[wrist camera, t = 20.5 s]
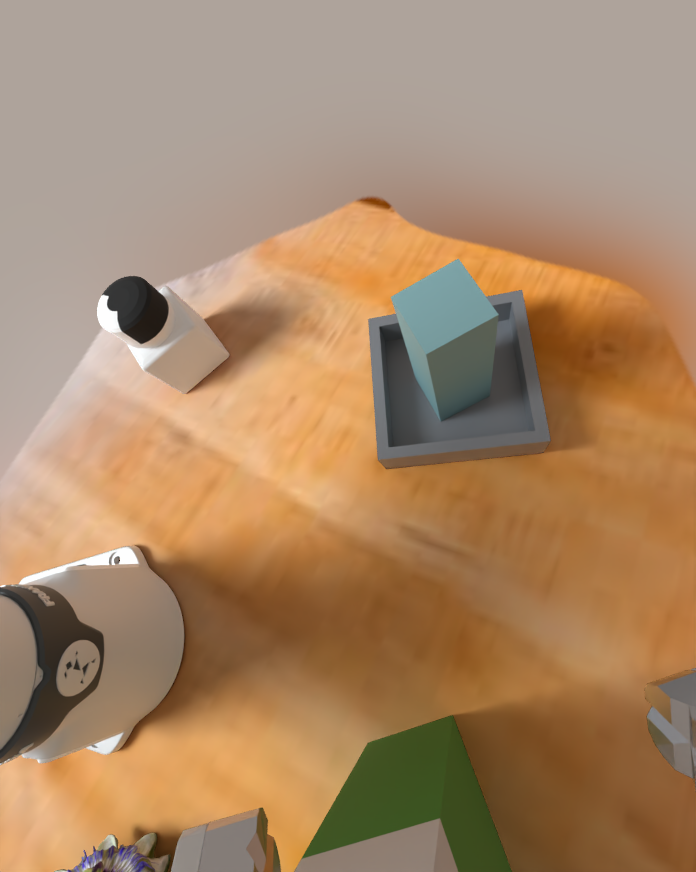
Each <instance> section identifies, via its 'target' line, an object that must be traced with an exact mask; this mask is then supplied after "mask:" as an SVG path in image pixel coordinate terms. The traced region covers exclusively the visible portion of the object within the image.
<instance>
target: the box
mask: <svg viewBox="0 0 696 872" xmlns="http://www.w3.org/2000/svg"><path fill="white" fill-rule="evenodd" d="M486 298H487V299H488V301H489V302H490V303H491V305H492V306H493V307H494V309H495V310H496V312H497V313H498V314H499V316H498V325H497V334H496V344H495V353H494V362H493V371H492V380H491V389H490V396H489V397H487V398H485V399H483V400H481V401H479V402H477V403H475V404H473V405H471V406H470V407H468V408H466V409H464V410H462V411H460V412H458V413H456V414H454V415H452V416H451V417H449V418H447V419H445V420H443V421H440V420H439V418H438V416H437V414H436V413H435V411H434V409H433V408H432V406H431V404H430V402H429V401H428V399H427V397H426V396H425V394H424V392H423V390H422V389H421V387H420V385H419V384H418V382H417V380H416V378H415V374H414V371H413V368H412V365H411V361H410V358H409V355H408V351H407V348H406V345H405V342H404V338H403V335H402V332H401V328H400V325H399V322H398V319H397V315H396V314H393V315H387V316H382V317H377V318H372V319H368V321H369V335H370V350H371V365H372V380H373V395H374V409H375V424H376V439H377V454H378V460H379V462H380V463H381V464H382V465H383V466H384V467H385V468H386V469H391V468H401V467H411V466H421V465H430V464H440V463H450V462H459V461H469V460H479V459H489V458H498V457H508V456H518V455H528V454H537V453H543V452H544V451H545V449H546V448H547V446H548V445H549V443H550V442H551V439H550V434H549V429H548V424H547V418H546V413H545V408H544V403H543V397H542V392H541V387H540V382H539V376H538V371H537V366H536V361H535V355H534V350H533V345H532V340H531V335H530V329H529V324H528V319H527V314H526V308H525V303H524V298H523V293H522V290H519V291H514V292H509V293H503V294H498V295H493V296H488V297H486Z"/></svg>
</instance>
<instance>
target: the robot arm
mask: <svg viewBox="0 0 696 872" xmlns="http://www.w3.org/2000/svg"><path fill="white" fill-rule="evenodd" d="M119 558H120V563H119ZM183 648H184V624H183V618H182V613H181V610H180V607H179V604H178V601H177V599H176V597H175V595H174V593H173V592H172V590H171V589H170V587H169V586H168V585H167V584H166V583H165V581H164V580H162V579H161V578H160V577H159V576H158V575H156V574H155V573H154V572H153V571H152V570H151V569H150V568H149V566H148V564H147V562H146V560H145V558H144V555H143V554H142V552H141V550H140V549H139V548H138V547H136V546H125V547H121V548H118V549H115V550H111V551H108V552H105V553H102V554H98V555H95V556H92V557H88V558H85V559H82V560H78V561H75V562H72V563H69V564H65V565H62V566H59V567H55V568H52V569H49V570H46V571H42V572H39V573H36V574H32V575H29V576H27V577H24V578H23V579H22V580H21V581H20V583H19V584H16V585H4V586H0V765H1V764H4V763H6V762H9V761H11V760H13V759H15V758H17V757H18V756H20V755H22V757H23V758H31V759H37V761H38V763H47V762H50V761H53V760H56V759H58V758H61V757H63V756H66V755H68V754H71V753H74V752H76V751H79V750H81V749H84V748H87V749H89V750H92V751H95V752H98V753H100V754H104V755H108V754H111V753H113V752H116V751H118V750H119V749H120V748H121V747H122V746H123V745H124V743H125V742H126V740H127V739H128V737H129V735H130V734H131V732H132V730H133V728H134V726H135V725H136V724H137V723H138V722H139V721H140V720H141V719H142V718H143V717H145V716H146V715H147V714H149V713H150V712H151V711H152V710H153V709H154V708H156V707H157V705H158V704H159V703H160V702H161V701H162V700H163V699H164V697H165V696H166V694H167V693H168V691H169V690H170V688H171V686H172V684H173V682H174V680H175V678H176V676H177V673H178V670H179V667H180V664H181V660H182V655H183ZM645 699H646V700H647V701H648V702H649V703H650V704H651V705H652V708H651V709H650V711H649V713H648V715H647V722H648V730H649V732H650V734H651V737H652V739H653V741H654V743H655V745H656V747H657V748H658V750H659V751H660V752H661V754H662V755H663V757H664V758H665V759H666V760H667V761H668V762H669V764H670V765H671V766H672V767H673V768H674V769H675V770H677V771H679V772H681V773H683V774H685V775H687V776H689V777H691V778H693V782H694V786H695V790H696V668H694V669H691V670H686V671H683V672H680V673H677V674H674V675H671V676H668V677H665V678H662V679H659V680H656V681H653V682H650V683H647V685H646V687H645ZM267 827H268V820H267V817H266V814H265V812H264V809H263V808H258V809H255V810H251V811H248V812H244V813H241V814H237V815H234V816H230V817H227V818H223V819H220V820H216V821H213V822H209V823H206V824H203V825H200V826H196V827H193V828H190V829H186V830H183V832H182V834H181V836H180V838H179V840H178V843H177V847H176V851H175V856H174V860H173V864H172V869H171V872H281V868H280V860H279V855H278V850H277V846H276V843H275V840H274V838H273V837H272V836H270V835H268V834H267Z"/></svg>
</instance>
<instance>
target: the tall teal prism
mask: <svg viewBox="0 0 696 872" xmlns="http://www.w3.org/2000/svg"><path fill="white" fill-rule="evenodd" d="M391 299H392V302H393V305H394V309H395V312H396V315H397V319H398V322H399V325H400V328H401V332H402V335H403V338H404V342H405V345H406V348H407V351H408V355H409V358H410V361H411V365H412V368H413V371H414V374H415V378H416V380H417V382H418V384H419V385H420V387H421V389H422V390H423V392H424V394H425V396H426V397H427V399H428V401H429V402H430V404H431V406H432V408H433V409H434V411H435V413H436V414H437V416H438V418H439V420H440V421H443V420H445V419H447V418H449V417H451V416H452V415H454V414H456V413H458V412H460V411H462V410H464V409H466V408H468V407H470V406H471V405H473V404H475V403H477V402H479V401H481V400H483V399H485V398H487V397H489V396H490V389H491V380H492V371H493V362H494V353H495V344H496V334H497V325H498V316H499V314H498V313H497V312H496V310H495V309H494V307H493V306H492V305H491V303H490V302H489V301H488V299H487V298H486V296H485V295H484V294H483V292H482V291H481V289H480V288H479V287H478V285H477V284H476V282H475V281H474V280H473V278H472V277H471V276H470V274H469V273H468V271H467V270H466V269H465V267H464V266H463V264H462V263H461V262H460V260H459V259H457V260H455V261H453V262H452V263H450V264H448V265H446V266H445V267H443V268H441V269H439V270H438V271H436V272H434V273H432V274H431V275H429V276H427V277H425V278H424V279H422V280H420V281H418V282H417V283H415V284H413V285H411V286H410V287H408V288H406V289H404V290H403V291H401V292H399V293H397V294H396V295H394V296H392V297H391Z"/></svg>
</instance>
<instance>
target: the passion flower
mask: <svg viewBox="0 0 696 872" xmlns="http://www.w3.org/2000/svg"><path fill="white" fill-rule="evenodd" d="M156 844H157V835H156V833H150V834H147V835H145V836H143V837H142V838H141V839H140V840H138V841H137V842H136V843H135V844H134V845H130V846H127V847H126V846H124V845H121V847H120V848H119V849H118V840H117V838H116V837H115V835H113V834H110V835H108V836H107V837H106V838H105V839H104V841H103V842H102V843H101V844H100V845H99V847H98V850H95V847H94V846H93V848H94V853H93V854H92V855H90V856H88V857H87V856H86V852H85V850H84V851H83V852H84V854H85V856H84V857H82V861H81V863H80V864H79V865H78V866H76V867H75V868H74V869H73V870H65V869H61V870H56V871H54V872H167V871H168V868H169V864H170V859H171V854H168V855H163V856H161V857H160V858H154V850H155V848H156Z"/></svg>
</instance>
